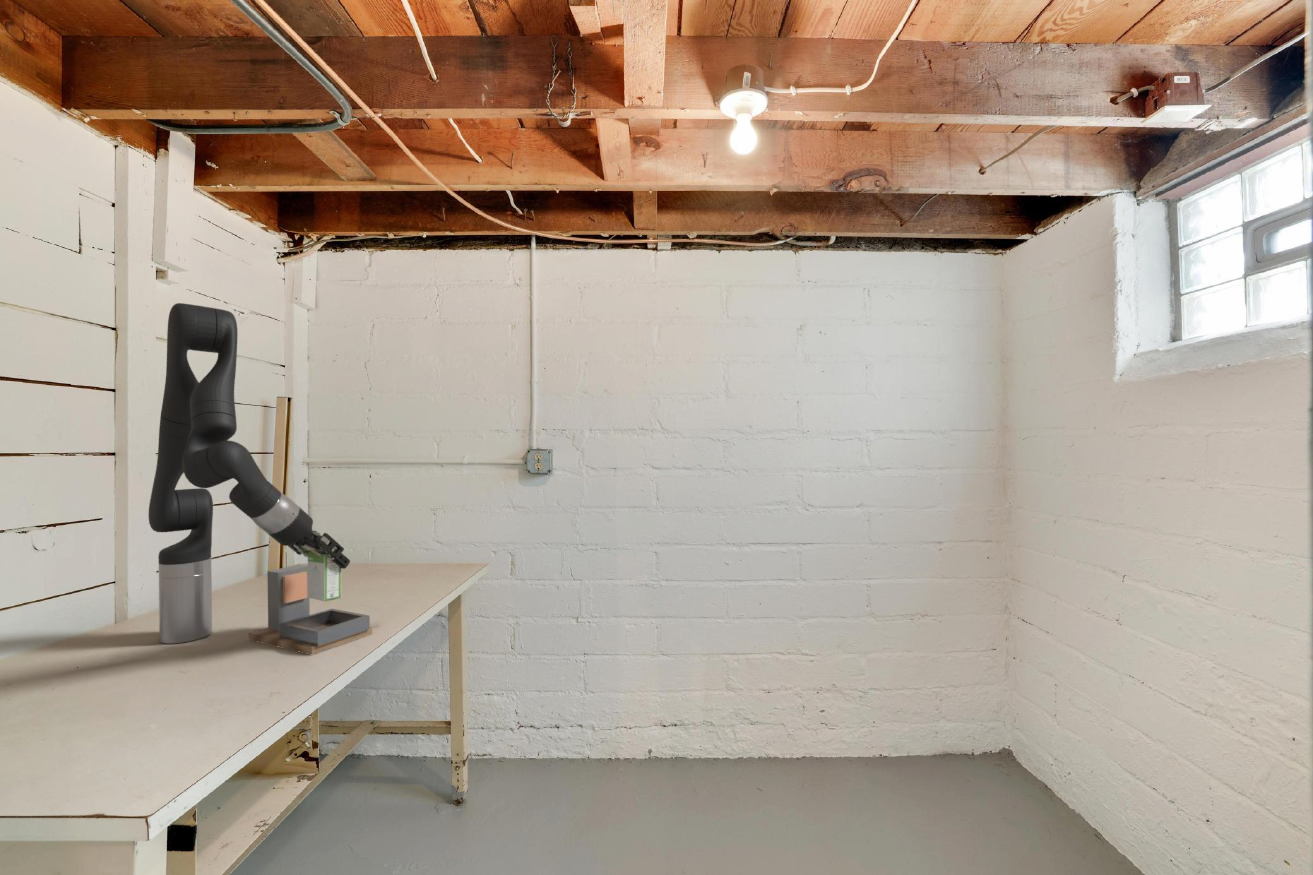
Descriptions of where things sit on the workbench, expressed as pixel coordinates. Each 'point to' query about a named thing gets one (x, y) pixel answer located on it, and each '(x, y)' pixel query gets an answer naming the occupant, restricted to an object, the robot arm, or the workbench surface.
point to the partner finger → (287, 595)
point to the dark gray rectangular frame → (307, 634)
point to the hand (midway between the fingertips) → (335, 563)
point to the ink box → (323, 578)
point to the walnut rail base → (274, 639)
